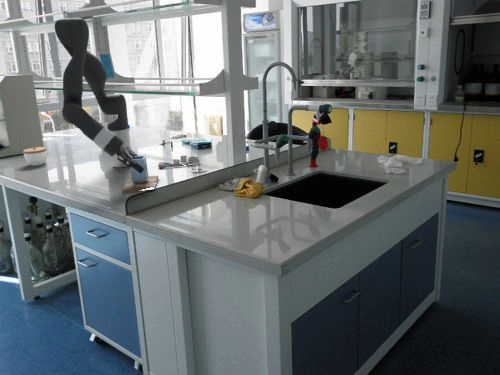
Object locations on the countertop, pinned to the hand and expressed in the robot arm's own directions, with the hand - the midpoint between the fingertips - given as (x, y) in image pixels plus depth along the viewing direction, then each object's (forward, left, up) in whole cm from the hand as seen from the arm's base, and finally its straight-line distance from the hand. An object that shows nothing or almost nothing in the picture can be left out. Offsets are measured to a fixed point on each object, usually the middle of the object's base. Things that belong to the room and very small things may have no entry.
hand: (143, 169), depth 181 cm
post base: (0, -2, -7) cm, 7 cm away
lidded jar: (-55, -62, -7) cm, 83 cm away
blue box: (0, -2, -4) cm, 5 cm away
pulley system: (-25, +15, -7) cm, 30 cm away
